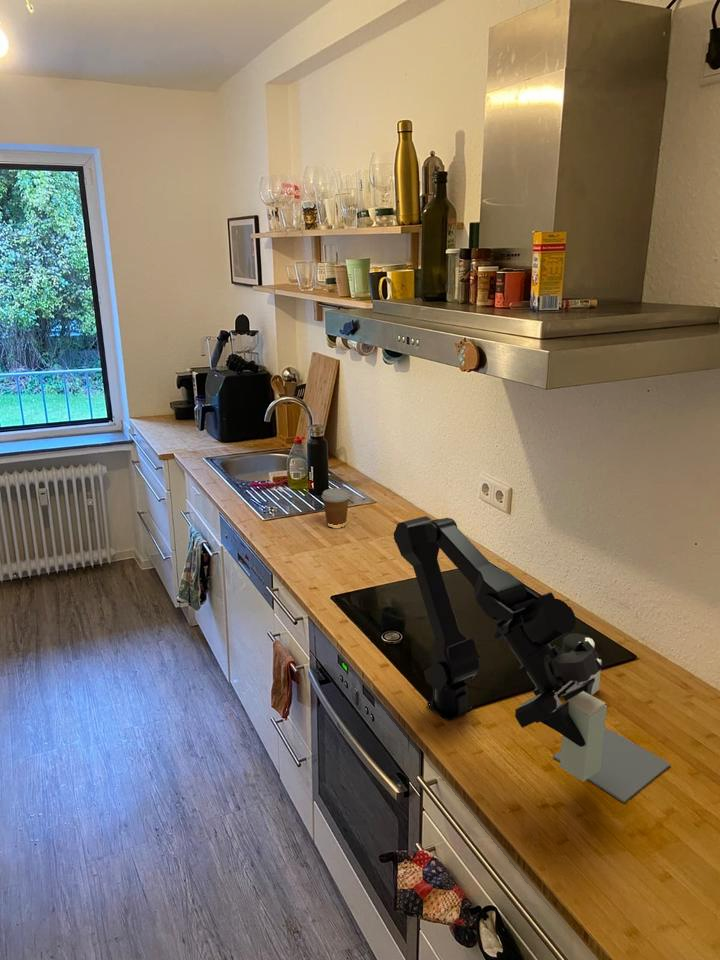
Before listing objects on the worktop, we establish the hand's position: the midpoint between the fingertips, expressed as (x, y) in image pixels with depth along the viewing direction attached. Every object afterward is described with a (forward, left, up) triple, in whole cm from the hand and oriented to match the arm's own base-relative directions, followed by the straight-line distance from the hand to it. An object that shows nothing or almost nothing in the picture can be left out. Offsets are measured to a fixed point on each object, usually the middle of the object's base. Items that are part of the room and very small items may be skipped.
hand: (591, 737), depth 110 cm
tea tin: (-1, 0, -7) cm, 7 cm away
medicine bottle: (-19, +24, -12) cm, 33 cm away
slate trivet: (-2, +11, -11) cm, 16 cm away
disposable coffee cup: (-128, +42, -12) cm, 136 cm away
